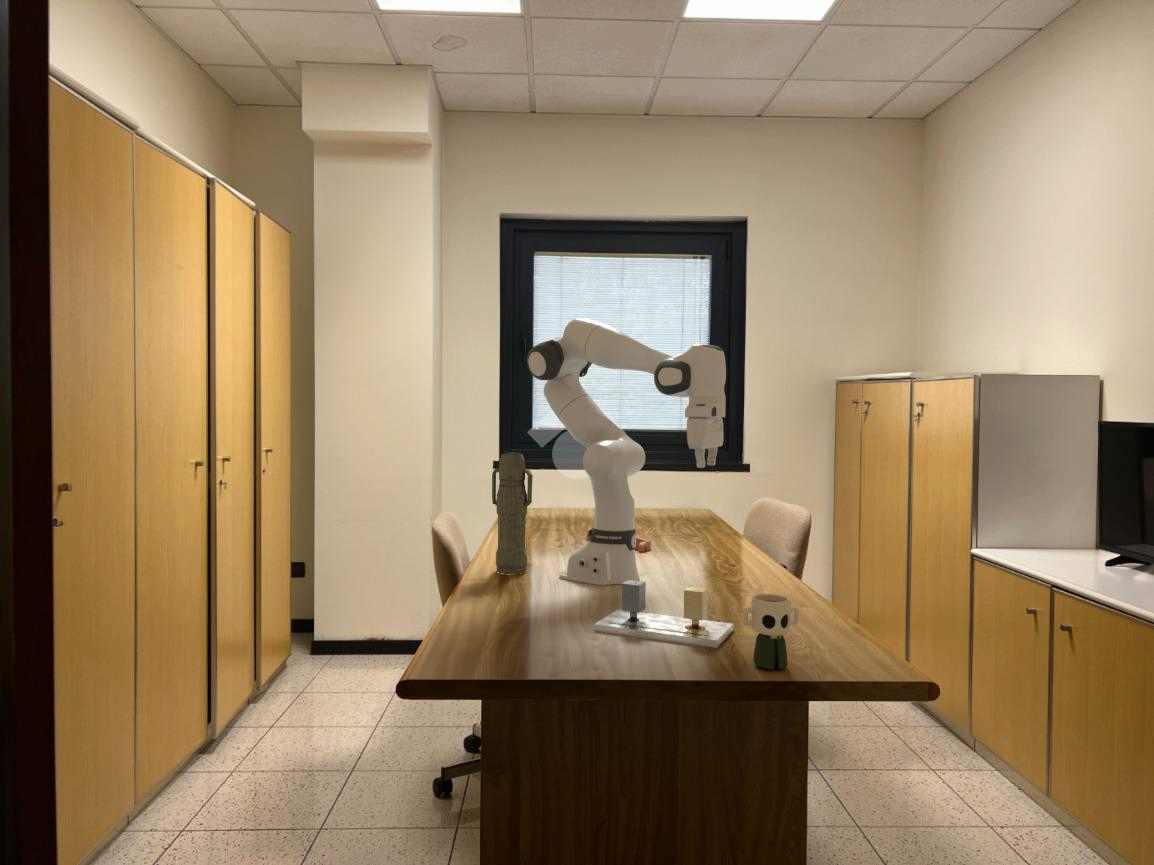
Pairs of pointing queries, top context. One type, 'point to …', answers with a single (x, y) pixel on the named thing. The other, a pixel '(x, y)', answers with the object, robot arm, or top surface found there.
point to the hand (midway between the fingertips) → (706, 466)
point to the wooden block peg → (695, 604)
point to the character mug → (771, 628)
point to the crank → (639, 544)
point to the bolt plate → (659, 622)
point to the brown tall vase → (511, 512)
